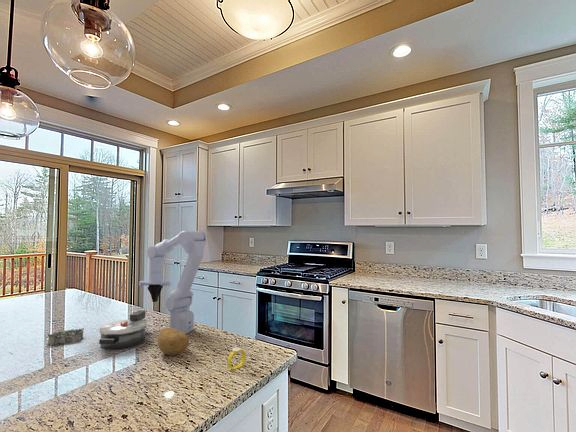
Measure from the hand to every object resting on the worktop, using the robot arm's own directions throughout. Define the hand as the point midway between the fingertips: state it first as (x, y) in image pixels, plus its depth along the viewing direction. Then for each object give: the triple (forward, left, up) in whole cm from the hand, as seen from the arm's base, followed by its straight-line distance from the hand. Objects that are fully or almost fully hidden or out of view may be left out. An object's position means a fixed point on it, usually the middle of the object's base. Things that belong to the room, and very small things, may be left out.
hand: (155, 301), depth 135 cm
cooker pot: (-4, +20, -10) cm, 22 cm away
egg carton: (+19, +26, -11) cm, 34 cm away
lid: (-3, +18, -5) cm, 19 cm away
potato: (-29, +24, -11) cm, 39 cm away
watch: (-55, +27, -11) cm, 62 cm away
